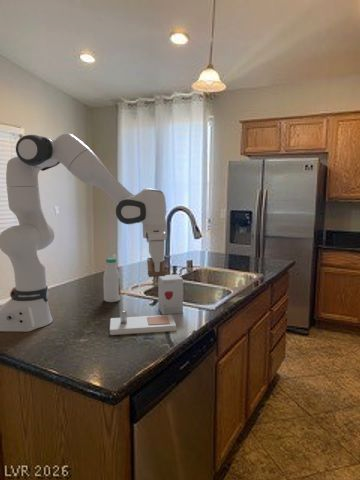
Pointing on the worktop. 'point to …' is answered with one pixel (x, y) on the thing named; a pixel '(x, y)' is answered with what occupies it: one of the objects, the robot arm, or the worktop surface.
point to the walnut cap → (152, 272)
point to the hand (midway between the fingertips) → (156, 269)
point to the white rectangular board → (139, 325)
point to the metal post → (123, 317)
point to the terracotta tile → (158, 320)
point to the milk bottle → (111, 281)
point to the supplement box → (170, 294)
